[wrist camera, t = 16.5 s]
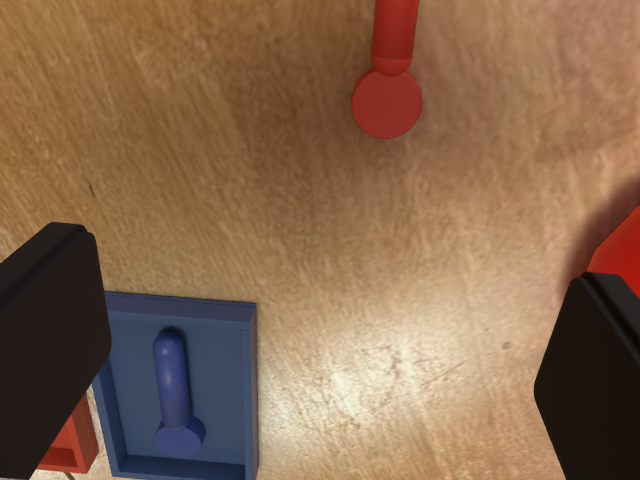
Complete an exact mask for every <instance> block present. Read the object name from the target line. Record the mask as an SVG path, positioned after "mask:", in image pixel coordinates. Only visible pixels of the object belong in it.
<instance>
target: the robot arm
mask: <svg viewBox="0 0 640 480" xmlns="http://www.w3.org/2000/svg"><path fill="white" fill-rule="evenodd" d="M111 347H112V337H111V331H110V325H109V318H108V312H107V306H106V300H105V294H104V288H103V282H102V276H101V270H100V263H99V257H98V251H97V245H96V240H95V237H94V235H93V234H92V233H89V232H87V230H86V228H85V227H84V226H83V225H81V224H70V223H59V222H51V223H49V224H47V225H46V226H45V227H44V228H43V229H41V230H40V231H39V232H38V233H36V234H35V235H34V236H33V237H32V238H30V239H29V240H28V241H27V242H26V243H24V244H23V245H22V246H21V247H20V248H18V249H17V250H16V251H15V252H14V253H12V254H11V255H10V256H9V257H8V258H6V259H5V260H4V261H3V262H1V263H0V480H29V479H30V477H31V476H32V474H33V473H34V471H35V470H36V468H37V467H38V465H39V463H40V462H41V460H42V459H43V457H44V456H45V454H46V453H47V451H48V450H49V448H50V446H51V445H52V443H53V442H54V440H55V439H56V437H57V436H58V434H59V433H60V431H61V429H62V428H63V426H64V425H65V423H66V422H67V420H68V419H69V417H70V416H71V414H72V412H73V411H74V409H75V408H76V406H77V405H78V403H79V402H80V400H81V398H82V397H83V395H84V394H85V392H86V391H87V389H88V388H89V386H90V385H91V383H92V381H93V380H94V378H95V377H96V375H97V374H98V372H99V371H100V369H101V368H102V366H103V364H104V363H105V361H106V360H107V358H108V356H109V354H110V351H111ZM534 398H535V401H536V404H537V407H538V409H539V412H540V414H541V417H542V419H543V422H544V424H545V427H546V430H547V432H548V435H549V437H550V440H551V442H552V445H553V447H554V450H555V452H556V455H557V457H558V460H559V463H560V465H561V468H562V470H563V473H564V475H565V478H566V480H640V299H639V297H638V296H637V295H636V294H635V293H634V291H633V290H632V289H631V288H630V287H629V285H628V284H627V283H626V282H625V280H624V279H623V278H622V277H621V276H620V275H617V274H608V273H597V272H585V273H583V274H582V275H581V276H580V278H574V279H573V280H572V281H571V282H570V284H569V287H568V290H567V292H566V295H565V298H564V301H563V304H562V306H561V309H560V312H559V315H558V318H557V321H556V323H555V326H554V329H553V332H552V335H551V337H550V340H549V343H548V346H547V349H546V352H545V354H544V357H543V360H542V363H541V366H540V368H539V371H538V374H537V377H536V380H535V383H534Z"/></svg>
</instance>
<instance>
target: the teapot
mask: <svg viewBox="0 0 640 480" xmlns="http://www.w3.org/2000/svg"><path fill="white" fill-rule="evenodd" d="M586 272H597V273H608V274H617V275H620V276H621V277H622V278H623V279H624V280H625V282H626V283H627V284H628V285H629V287H630V288H631V289H632V290H633V291H634V293H635V294H636V295H637V296H638V297H639V299H640V204H639V205H638V206H637V207H636V208H635V209H634V211H633V212H632V213H631V214H630V215H629V216H628V217H627V218H626V219H625V220H624V221H623V222H622V223H621V224H620V225H619V226H618V227H617V228H616V229H615V230H614V231H613V232H612V233H611V234H610V235H609V236H608V237H607V239H606V240H605V241H604V242H603V243H602V244H601V245H600V246H599V247H598V248H597V249H596V250H595V252H594V254H593V257H592V259H591V261H590V264H589V266H588V268H587V271H586Z"/></svg>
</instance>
